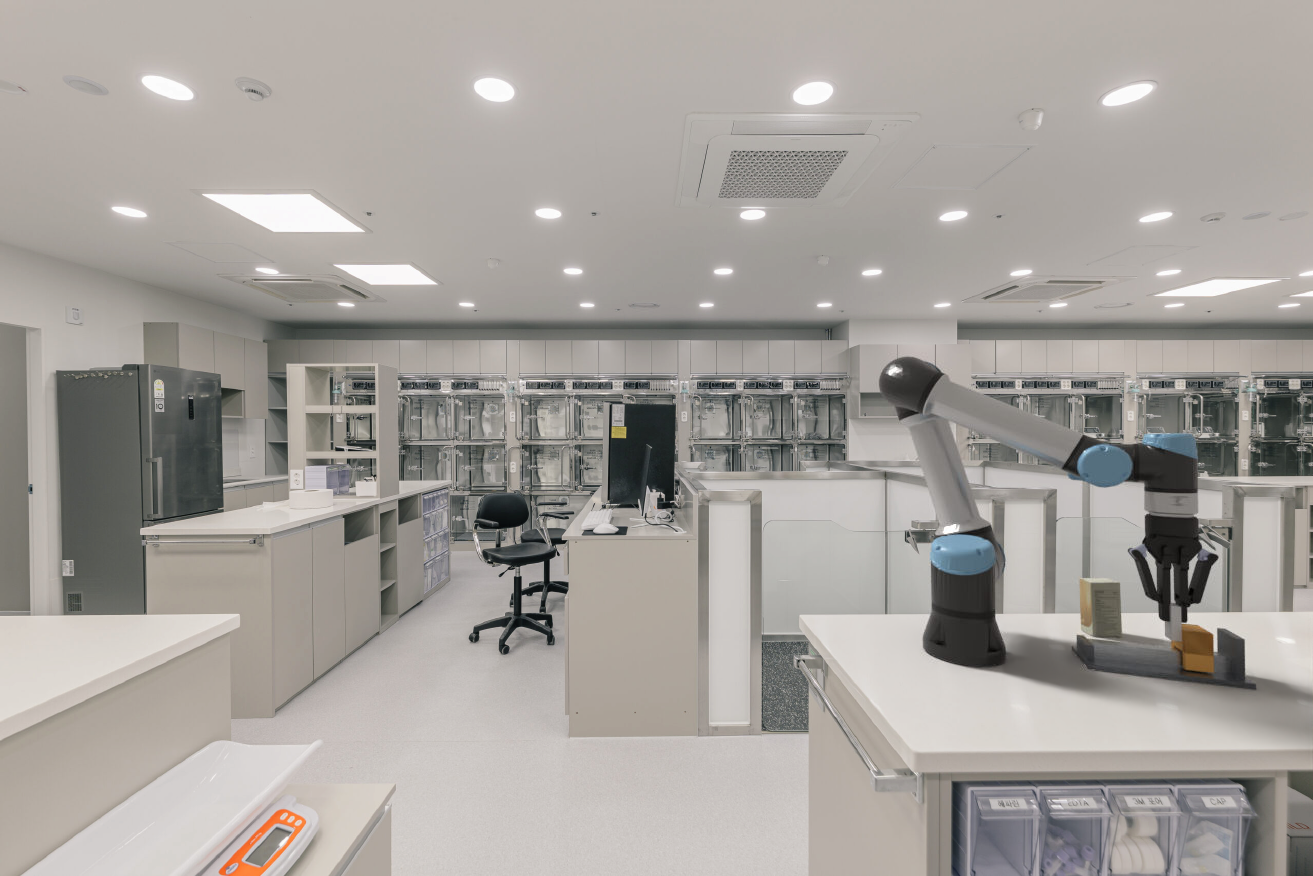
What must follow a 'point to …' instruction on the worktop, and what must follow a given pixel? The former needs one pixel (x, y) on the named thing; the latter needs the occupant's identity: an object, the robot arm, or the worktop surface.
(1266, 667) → the worktop surface
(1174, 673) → the rail
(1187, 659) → the orange slider block
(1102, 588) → the skincare box
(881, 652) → the worktop surface
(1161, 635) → the worktop surface
